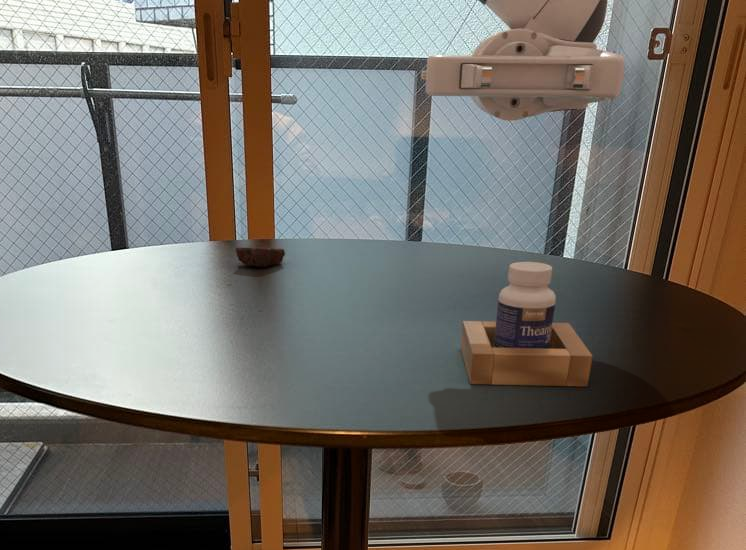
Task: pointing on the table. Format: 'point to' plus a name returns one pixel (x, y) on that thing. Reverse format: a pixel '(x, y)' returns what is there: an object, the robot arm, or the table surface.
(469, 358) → the socket block
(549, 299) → the pill bottle
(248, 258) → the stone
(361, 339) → the table surface
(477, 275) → the table surface
